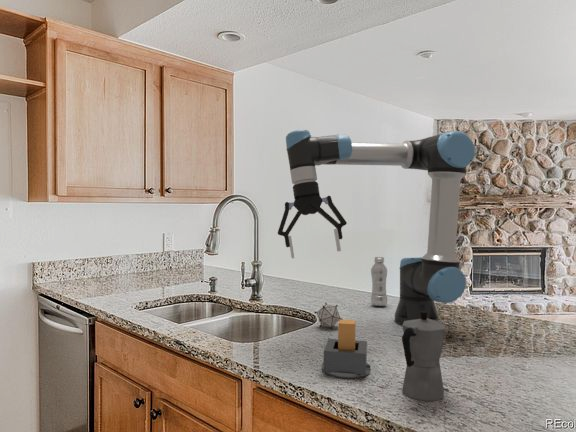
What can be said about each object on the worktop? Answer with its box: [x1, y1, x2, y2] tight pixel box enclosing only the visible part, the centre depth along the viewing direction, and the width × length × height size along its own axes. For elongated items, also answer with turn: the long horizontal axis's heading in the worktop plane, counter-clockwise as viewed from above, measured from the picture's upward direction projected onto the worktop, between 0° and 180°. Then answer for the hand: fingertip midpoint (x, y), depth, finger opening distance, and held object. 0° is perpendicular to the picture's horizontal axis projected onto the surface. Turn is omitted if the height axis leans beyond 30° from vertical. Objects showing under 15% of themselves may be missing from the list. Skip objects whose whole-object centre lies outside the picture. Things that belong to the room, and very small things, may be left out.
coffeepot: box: [401, 311, 446, 402], centre depth 96 cm, size 15×9×18 cm, turn 137°
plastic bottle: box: [370, 256, 388, 308], centre depth 181 cm, size 6×7×20 cm
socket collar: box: [321, 338, 371, 380], centre depth 111 cm, size 12×12×6 cm
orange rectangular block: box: [337, 318, 357, 350], centre depth 111 cm, size 4×4×11 cm
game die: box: [314, 301, 343, 331], centre depth 149 cm, size 9×8×10 cm
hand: (316, 254), depth 129 cm, fingers open, 13 cm apart
